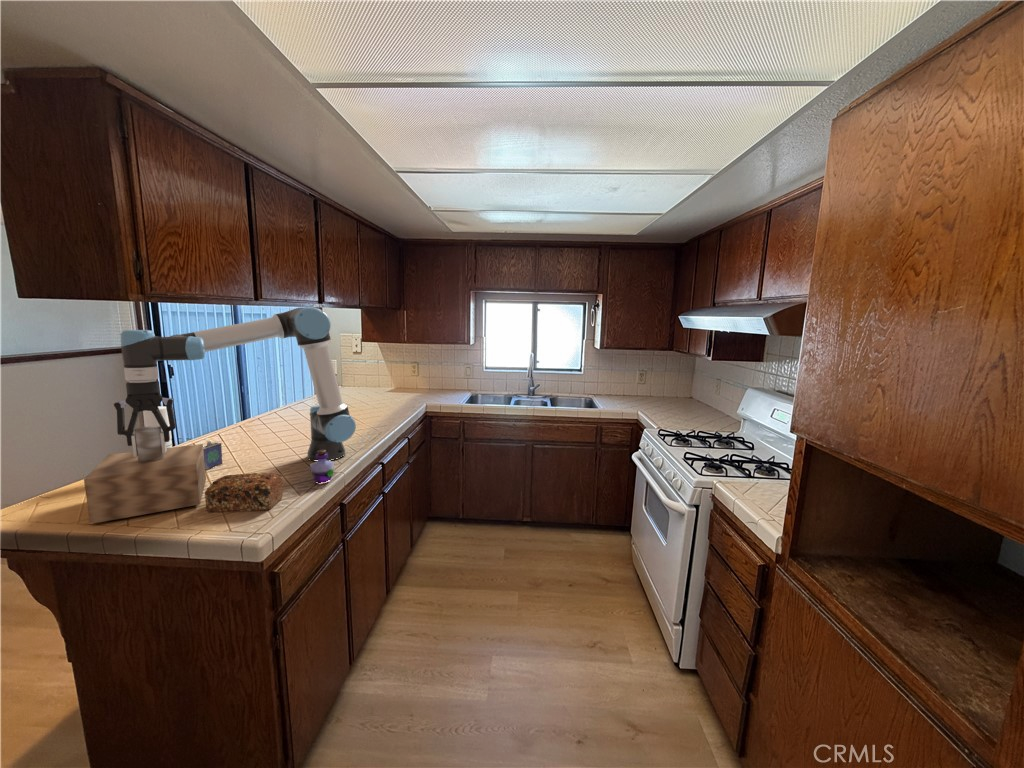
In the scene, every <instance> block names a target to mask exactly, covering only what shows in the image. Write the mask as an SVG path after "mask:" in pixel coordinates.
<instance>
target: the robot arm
mask: <svg viewBox="0 0 1024 768" xmlns="http://www.w3.org/2000/svg"><path fill="white" fill-rule="evenodd" d="M331 324H332V323H331V320H330V317H329V316H328V315H327V313H326V312H324V311H323V310H322V309H320V308H318V307H314V306H306V307H296V308H293V309H291V310H290V309H289V310H288V311H283V312H279V313H275V314H273V315H272V317H268V318H262V319H258V320H257V319H256V320H251V321H247V322H241V323H235V324H230V325H225V326H218V327H214V328H209V329H204V330H203V329H202V330H198V331H193V332H192V331H191V332H187V333H181V334H173V335H170V336H156V335H155V332H154V331H153V330H150V329H126V330H123V331H122V332H120V349H121V355H122V361H123V371H124V379H125V381H126V383H125V388H126V389H125V390H126V398H125V399H124V400H120V401H116V402H114V403H113V407H114V408H115V410H116V423H117V424H116V425H117V426H116V427H117V429H116V431H117V435H118V436H119V435H120V436H125V437H126V443H127V446H128V447H131V446H132V452H133V455H134V457H136V456H138V455H137V446H136V437H135V433H134V432H135V429H136V428H135V427H136V425H137V421H138V419H139V416H140V415H139V414H140V413H141V412H143V411H145V410H146V411H152V413H153V414H154V416H155V418H156V419H157V421H158V423H159V425H160V427H161V428H162V430H163V431H162V432H161V433H160V437H161V446H162V453H166V451H167V448H166V442H169V440H170V435H169V431H171V432H172V431H173V430H175V429H176V427H177V424H176V423H177V422H176V419H175V412H174V407H173V404H174V401H175V400H174V398H173V397H169V398H168V397H163V396H162V394H161V389H160V381H159V380H158V379H160V378H159V368H158V362H159V361H162V362H163V361H196V360H203V359H204V358H205V356H206V353H207V352H212V351H216V350H221V349H226V348H230V347H235V346H241V345H245V344H250V343H254V342H260V341H265V340H269V339H273V338H280V339H282V340H283V339H286V338H287V339H288V338H294V337H295V339H296V342H297V346H298V347H300V348H301V349H303V352H304V355H305V359H306V363H307V366H308V370H309V373H310V377H311V380H312V384H313V387H314V391H315V395H316V398H317V402H318V405H314V406H311V407H310V409H309V416H310V417H309V418H310V420H309V421H310V439H311V440H310V444H309V447H308V449H307V455H306V456H307V460H308V459H310V460H318V459H316V454H317V451H319V450H326V453H328V458H326V460H331V459H336V458H339V457H341V456H343V455H345V456H346V448H345V445H344V442H346V441H348V440H349V439H351V438H352V437H353V435H354V434H355V431H356V428H357V426H356V425H357V424H356V421H355V420H354V418H353V417H352V416H351V415H350V411H349V407H348V405H347V403H344V402H343V400H342V399H343V398H342V395H341V393H340V388H339V384H338V379H337V377H336V371H335V367H334V364H333V360H332V356H331V352H330V348H329V344H330V342H331V340H332V339H331V336H330V330H331V326H332V325H331ZM161 402H163V404H164V406H166V409H167V414H168V419H169V424H170V426H169V427H168V425H167V424H166V422H165V420H164V418H163V416H162V414H161V413H160V411H159V408H158V407H159V406H160V405H161ZM127 405H129V407H131V408H132V412H131V416H130V419H129V423H128V426H127V429H126V422H125V418H126V417H125V408H126V407H127ZM310 460H309V461H310Z"/></svg>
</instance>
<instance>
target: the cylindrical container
mask: <svg viewBox="0 0 1024 768" xmlns="http://www.w3.org/2000/svg"><path fill="white" fill-rule="evenodd" d="M166 406H167V405H164V406H163V405H161V406H160V405H158V408H159V411H160V413H161V414H162V416H163V418H164V420H165V422H166V424H167V425H168V427H169V426H170V424H169V419H168V414H167V409H166ZM142 413H143V414H142V415H143V421H144V422H143V424H144V425H143V426H144V427H148V426H160V425H159V423H158V421H157V419H156V418H155V416H154V414H153V413H152V411H146V410H145V411H142ZM162 431H163V430H162V428H161V432H162ZM169 435H170V440H169V442H166V448H172V447H173V440H172V438H173V437H172V430H171V431H169Z"/></svg>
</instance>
